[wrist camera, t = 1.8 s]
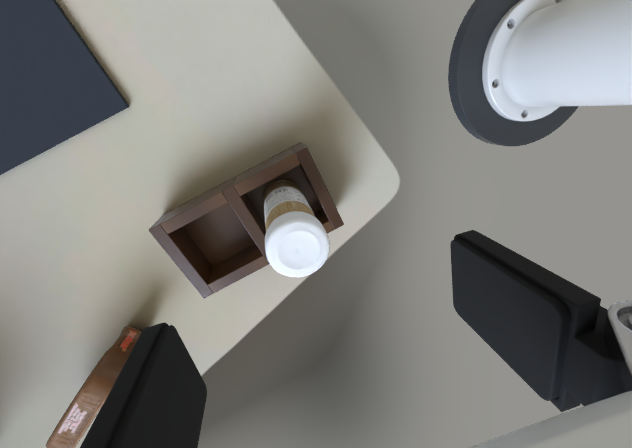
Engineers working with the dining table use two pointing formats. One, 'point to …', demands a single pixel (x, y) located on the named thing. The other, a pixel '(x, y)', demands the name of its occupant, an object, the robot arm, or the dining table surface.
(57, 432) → the tin
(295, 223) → the sprinkles bottle
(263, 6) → the dining table surface
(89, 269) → the dining table surface
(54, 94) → the table mat
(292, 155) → the spice rack
